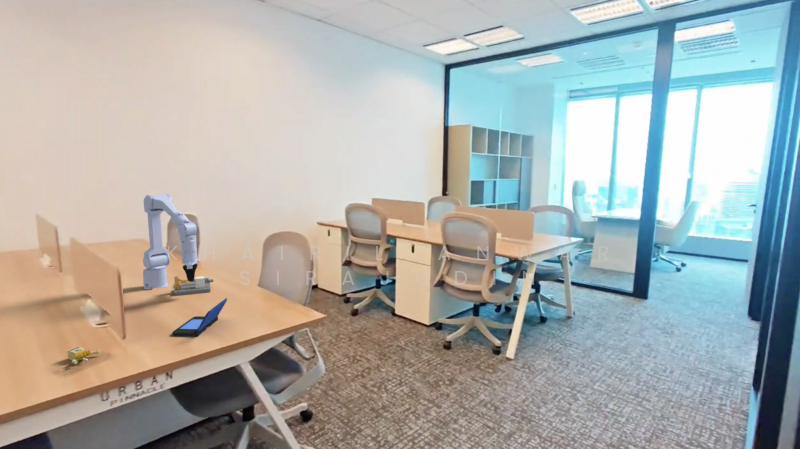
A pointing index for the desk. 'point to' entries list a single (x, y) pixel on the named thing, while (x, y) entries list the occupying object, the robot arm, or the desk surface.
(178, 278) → the clip
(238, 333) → the desk surface
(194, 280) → the tray
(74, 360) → the character toy
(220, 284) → the desk surface
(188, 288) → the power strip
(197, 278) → the plug
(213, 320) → the handheld game console
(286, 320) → the desk surface
